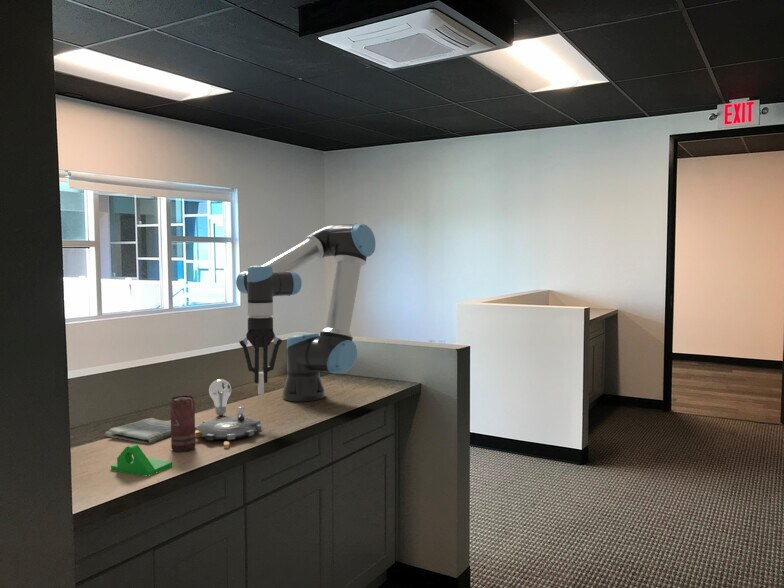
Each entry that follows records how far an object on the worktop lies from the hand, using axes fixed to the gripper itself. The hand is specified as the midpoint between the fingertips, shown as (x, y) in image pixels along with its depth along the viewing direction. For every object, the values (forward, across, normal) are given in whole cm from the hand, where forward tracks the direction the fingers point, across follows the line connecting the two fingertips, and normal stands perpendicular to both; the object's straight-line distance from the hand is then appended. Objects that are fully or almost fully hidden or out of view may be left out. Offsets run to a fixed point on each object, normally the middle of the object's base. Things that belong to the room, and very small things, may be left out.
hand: (260, 393), depth 189 cm
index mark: (+10, +11, +19) cm, 24 cm away
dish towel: (+11, +32, -3) cm, 34 cm away
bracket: (+11, +32, +29) cm, 45 cm away
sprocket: (+9, +10, +7) cm, 15 cm away
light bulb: (+10, +11, -15) cm, 21 cm away
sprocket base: (+10, +10, +7) cm, 16 cm away
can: (+10, +22, +17) cm, 30 cm away
